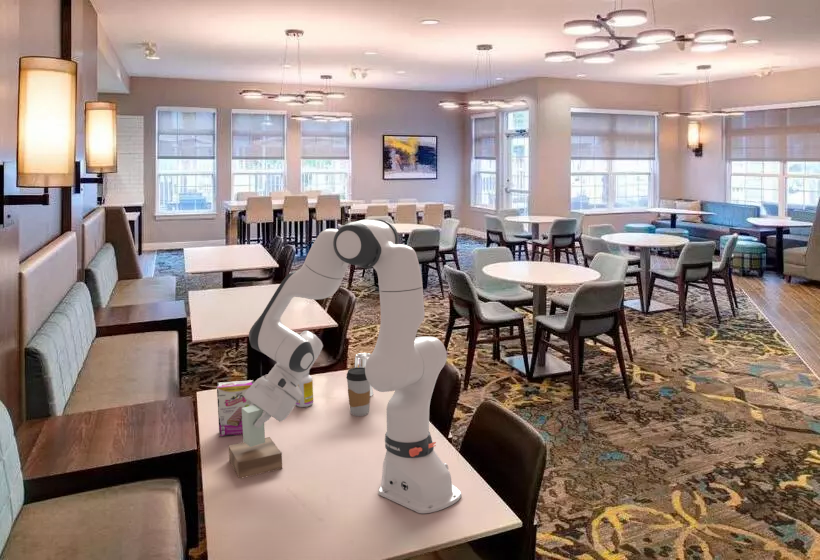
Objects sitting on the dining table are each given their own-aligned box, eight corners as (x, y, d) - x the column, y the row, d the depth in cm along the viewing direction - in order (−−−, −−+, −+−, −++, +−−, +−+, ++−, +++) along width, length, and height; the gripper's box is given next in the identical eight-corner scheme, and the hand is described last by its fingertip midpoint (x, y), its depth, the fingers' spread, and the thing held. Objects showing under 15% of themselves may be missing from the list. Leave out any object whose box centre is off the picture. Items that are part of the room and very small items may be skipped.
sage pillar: (265, 442, 179) (263, 409, 177) (250, 447, 176) (248, 412, 174) (258, 437, 182) (256, 404, 180) (243, 441, 180) (241, 408, 178)
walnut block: (282, 469, 178) (281, 453, 177) (239, 479, 172) (238, 462, 171) (270, 452, 188) (269, 436, 187) (229, 461, 183) (228, 445, 182)
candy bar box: (219, 437, 198) (216, 387, 195) (220, 431, 203) (216, 382, 200) (256, 433, 201) (253, 384, 198) (255, 427, 206) (253, 379, 203)
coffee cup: (376, 412, 217) (376, 370, 214) (357, 419, 211) (356, 376, 208) (361, 406, 223) (360, 365, 220) (342, 412, 217) (341, 370, 214)
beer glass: (371, 398, 230) (370, 359, 227) (353, 397, 231) (352, 357, 228) (376, 392, 236) (375, 353, 234) (358, 390, 238) (357, 352, 235)
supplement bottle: (315, 401, 228) (314, 366, 226) (310, 408, 222) (309, 372, 219) (297, 400, 229) (295, 366, 226) (292, 407, 222) (290, 372, 220)
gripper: (257, 367, 188) (228, 406, 184) (290, 386, 172) (258, 429, 168) (272, 378, 192) (243, 417, 187) (305, 397, 176) (274, 440, 172)
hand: (251, 423), depth 178 cm, fingers closed on sage pillar, 4 cm apart
